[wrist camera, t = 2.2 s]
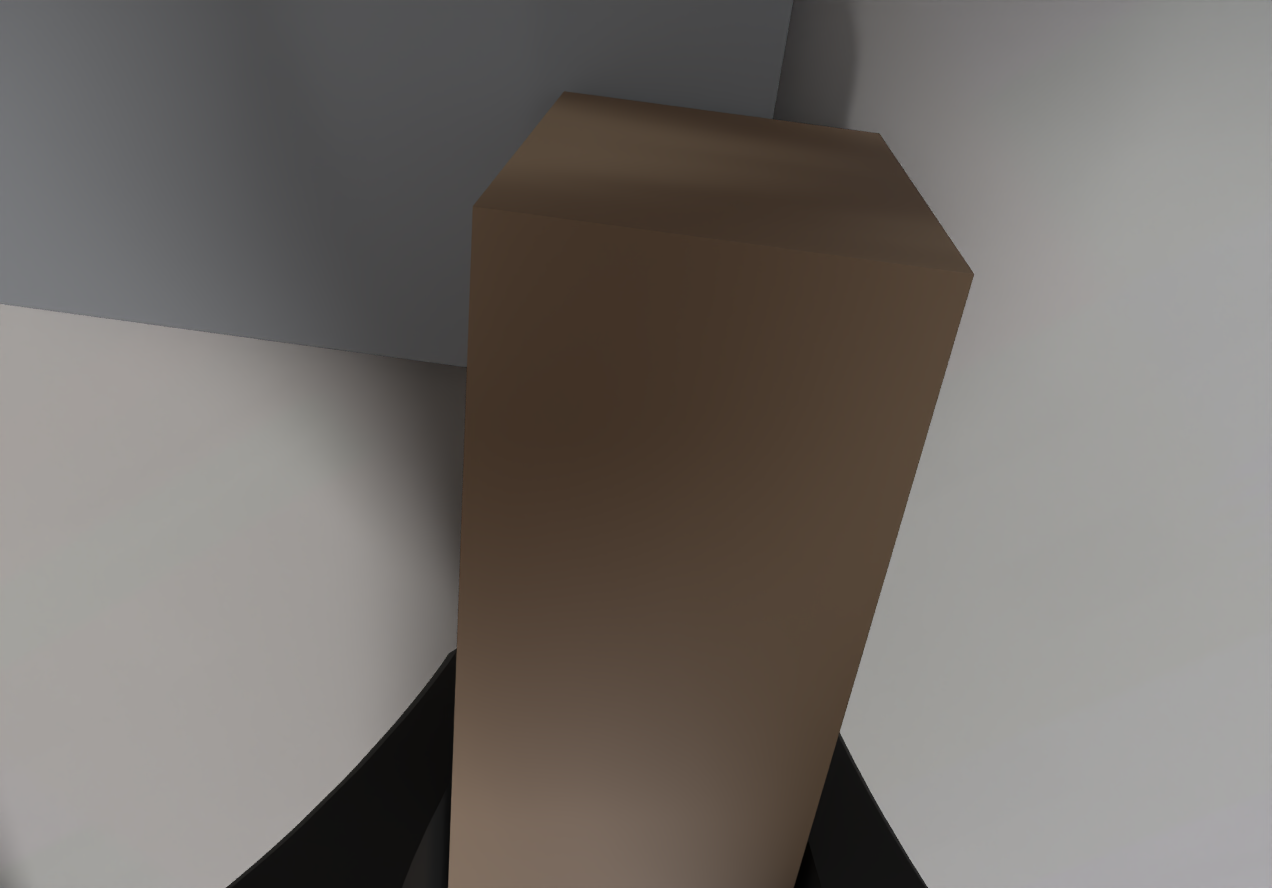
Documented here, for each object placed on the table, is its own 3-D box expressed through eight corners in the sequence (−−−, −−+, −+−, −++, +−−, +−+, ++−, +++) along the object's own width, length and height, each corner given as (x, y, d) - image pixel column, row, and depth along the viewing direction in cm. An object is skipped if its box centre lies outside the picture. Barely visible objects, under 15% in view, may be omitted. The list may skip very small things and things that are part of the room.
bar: (878, 133, 9) (974, 274, 6) (677, 1011, 16) (667, 1318, 13) (564, 91, 9) (472, 206, 6) (495, 985, 16) (433, 1284, 13)
